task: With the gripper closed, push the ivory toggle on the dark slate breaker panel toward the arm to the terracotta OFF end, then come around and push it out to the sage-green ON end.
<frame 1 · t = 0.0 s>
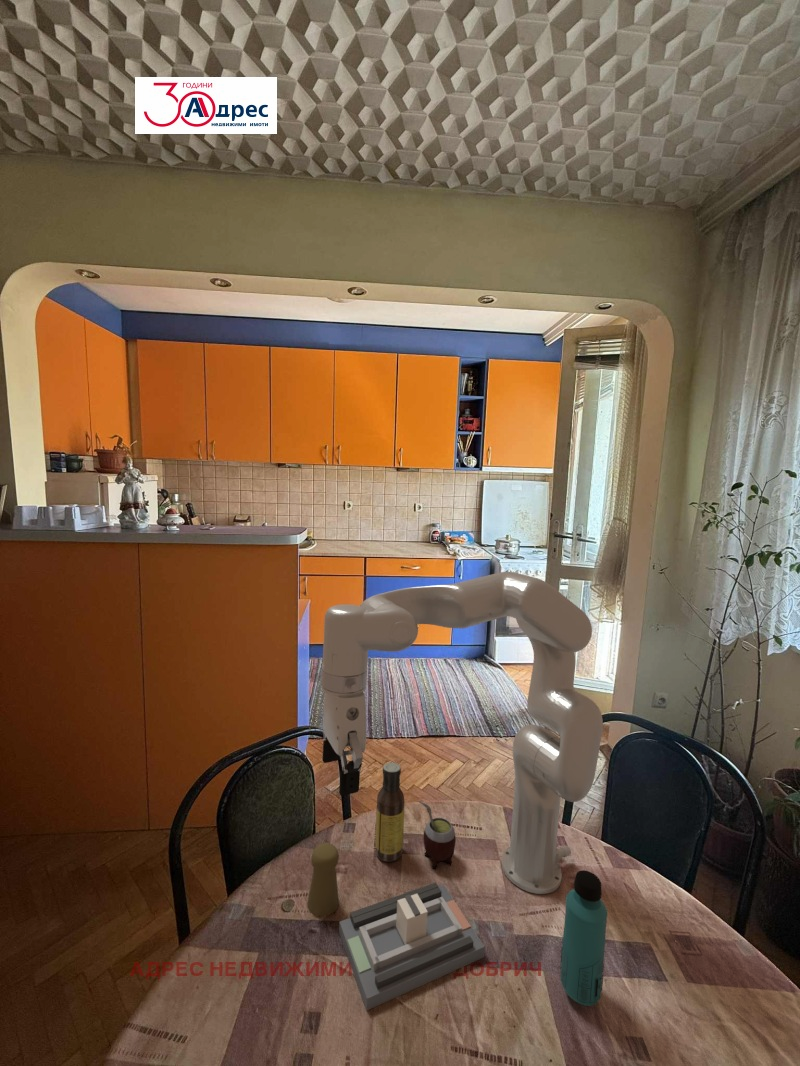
hand: (339, 776, 79), 31 cm above the table, fingers open, 9 cm apart
panel: (410, 944, 82), on the table
mate gourd: (436, 861, 101), on the table
toggle: (411, 918, 81), point 5 cm above the table, slide at 0.0 cm
beverage bottle: (578, 995, 75), on the table
olive brown pawn: (323, 903, 89), on the table
sauce bottle: (388, 853, 103), on the table
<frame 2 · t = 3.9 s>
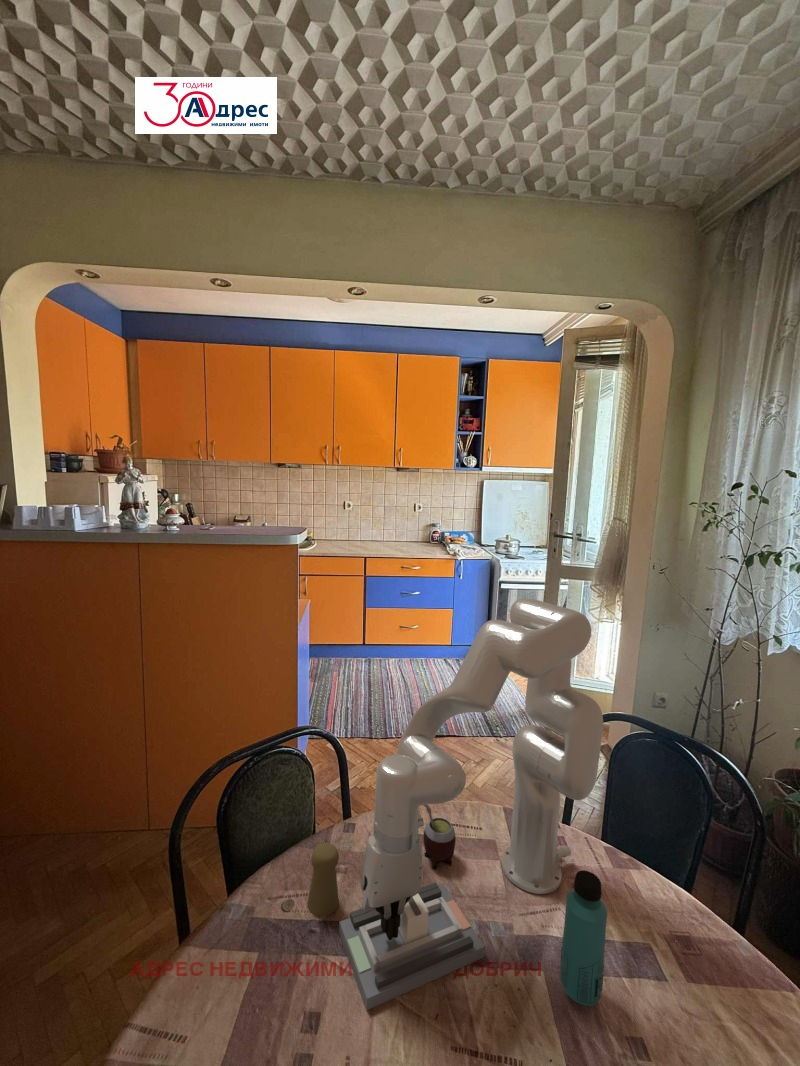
hand: (389, 931, 80), 4 cm above the table, fingers closed
toggle: (412, 917, 82), point 5 cm above the table, slide at -0.2 cm, touching gripper
everything else where it was.
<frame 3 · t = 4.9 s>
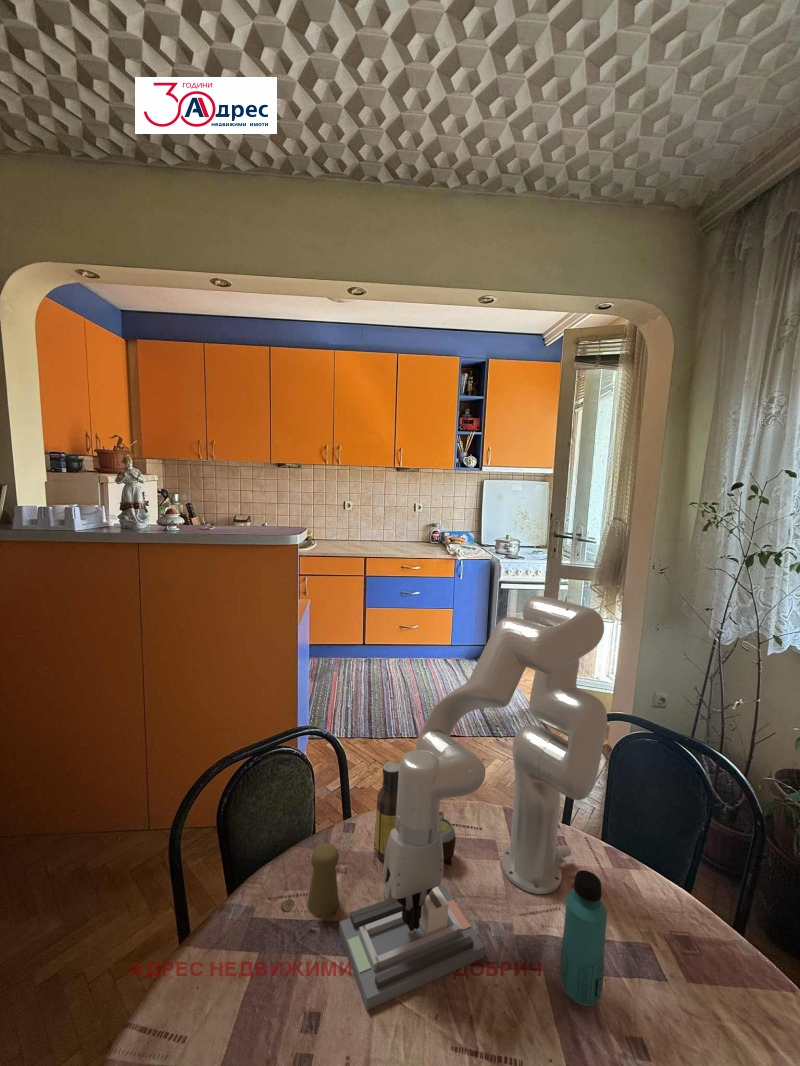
hand: (411, 923, 82), 4 cm above the table, fingers closed
toggle: (432, 910, 83), point 5 cm above the table, slide at -4.3 cm, touching gripper
everything else where it was.
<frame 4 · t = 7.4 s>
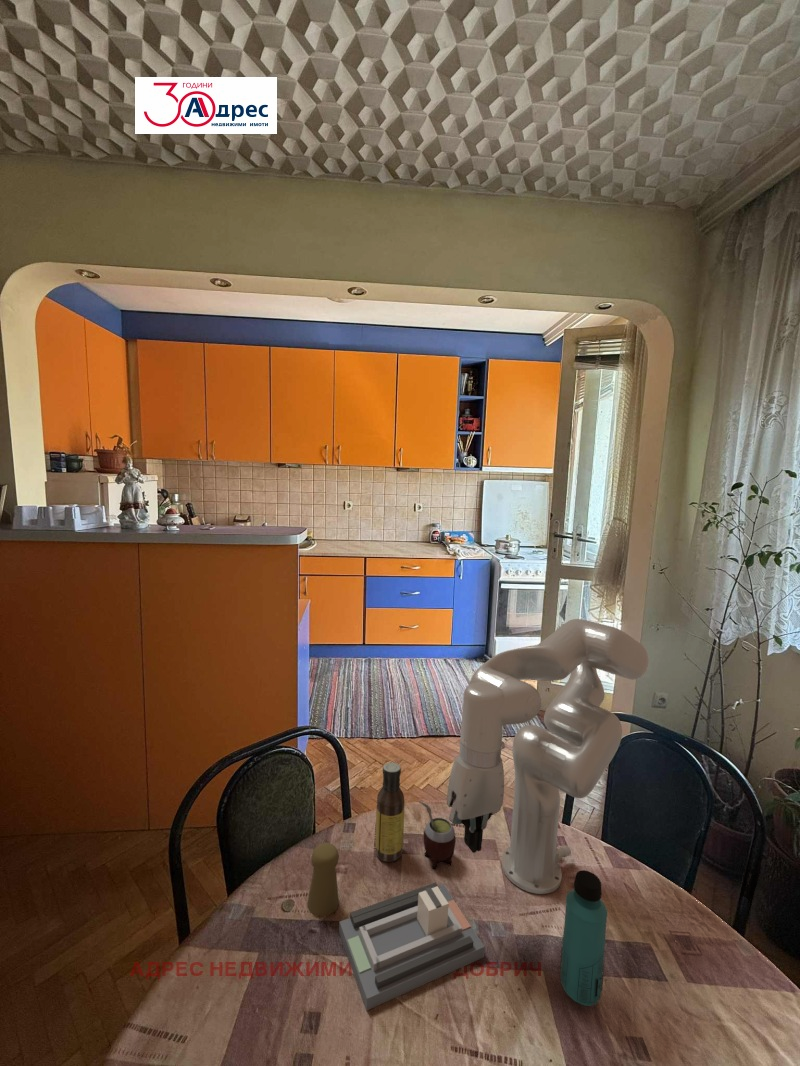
hand: (472, 846, 86), 15 cm above the table, fingers closed
toggle: (432, 910, 83), point 5 cm above the table, slide at -4.3 cm
everything else where it was.
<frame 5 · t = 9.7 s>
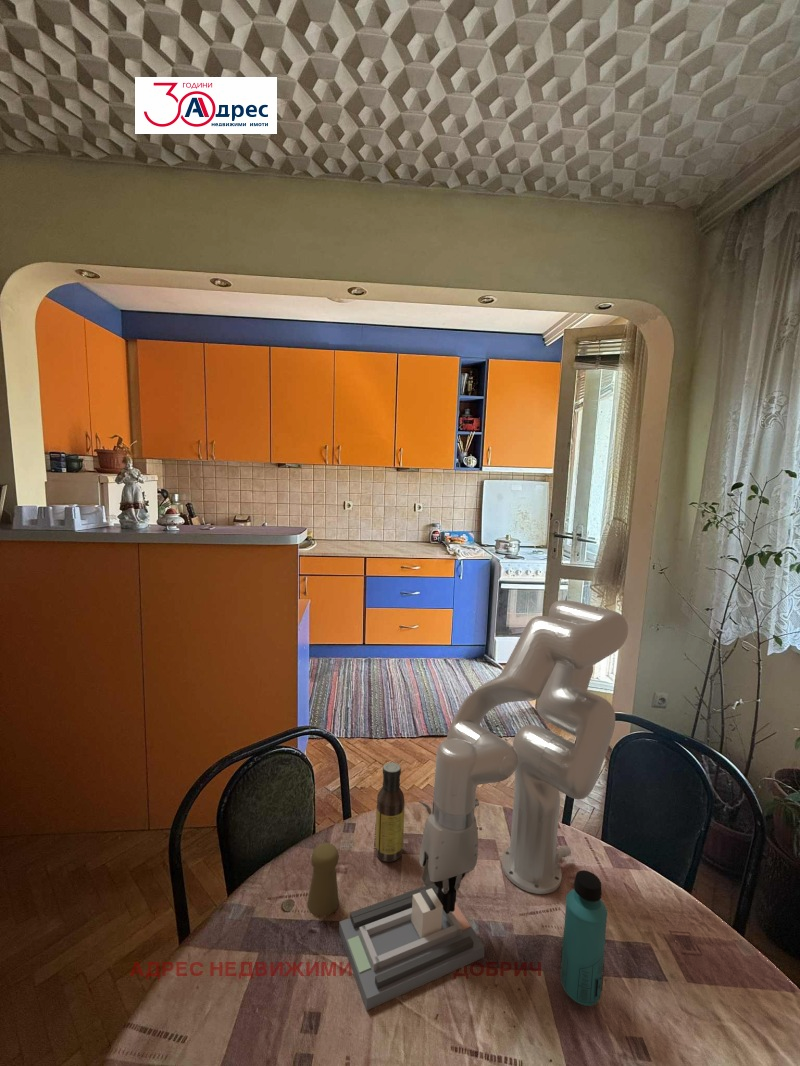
hand: (446, 906, 84), 5 cm above the table, fingers closed
toggle: (426, 912, 83), point 5 cm above the table, slide at -3.1 cm, touching gripper
everything else where it was.
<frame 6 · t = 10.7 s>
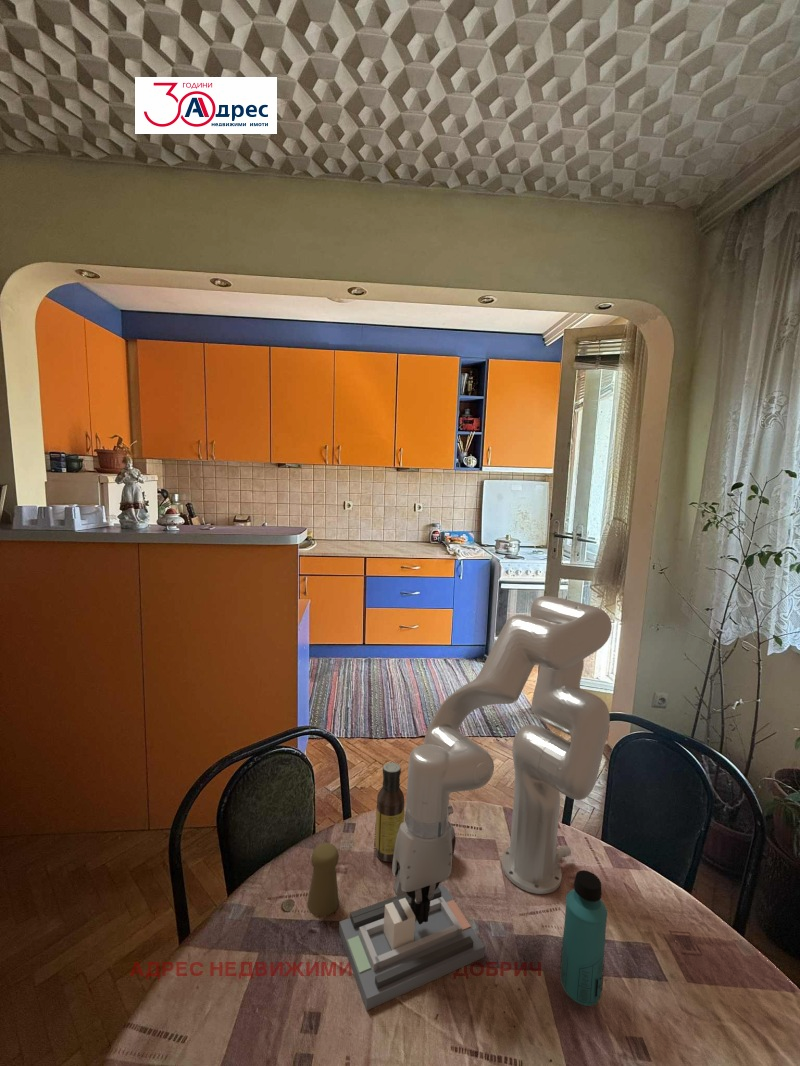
hand: (419, 916, 82), 5 cm above the table, fingers closed
toggle: (399, 923, 80), point 5 cm above the table, slide at 2.4 cm, touching gripper
everything else where it was.
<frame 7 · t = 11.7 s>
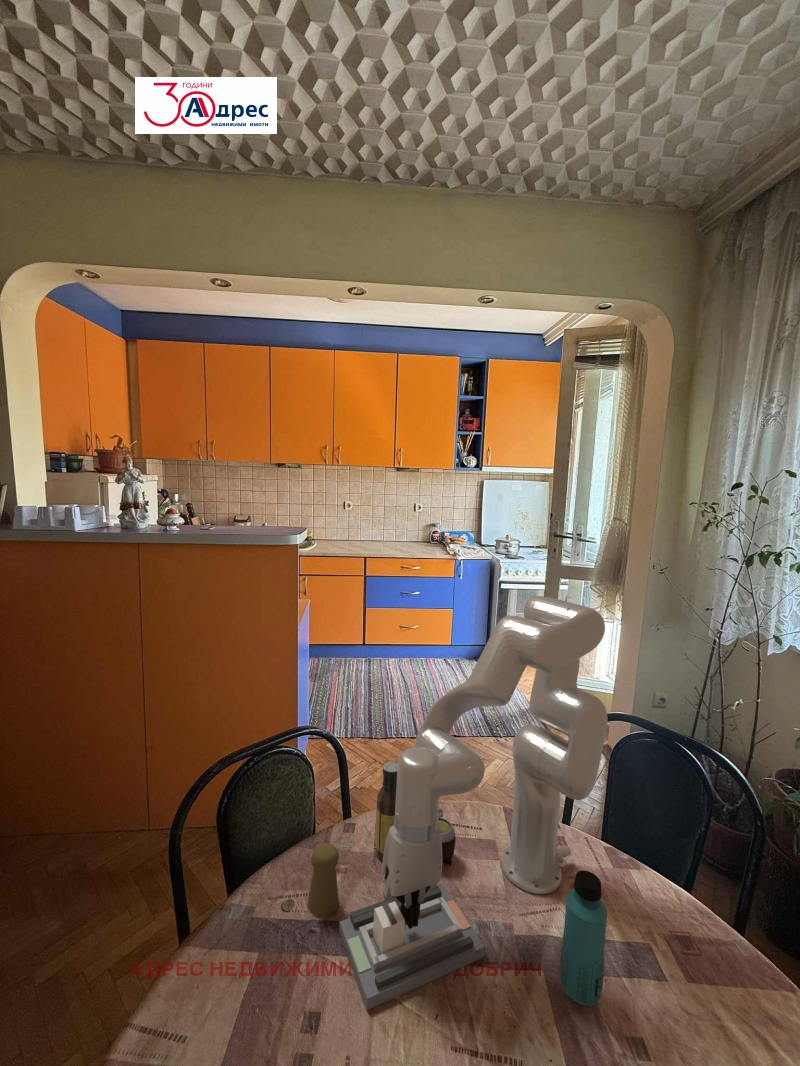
hand: (409, 920, 81), 5 cm above the table, fingers closed
toggle: (388, 927, 80), point 5 cm above the table, slide at 4.5 cm, touching gripper
everything else where it was.
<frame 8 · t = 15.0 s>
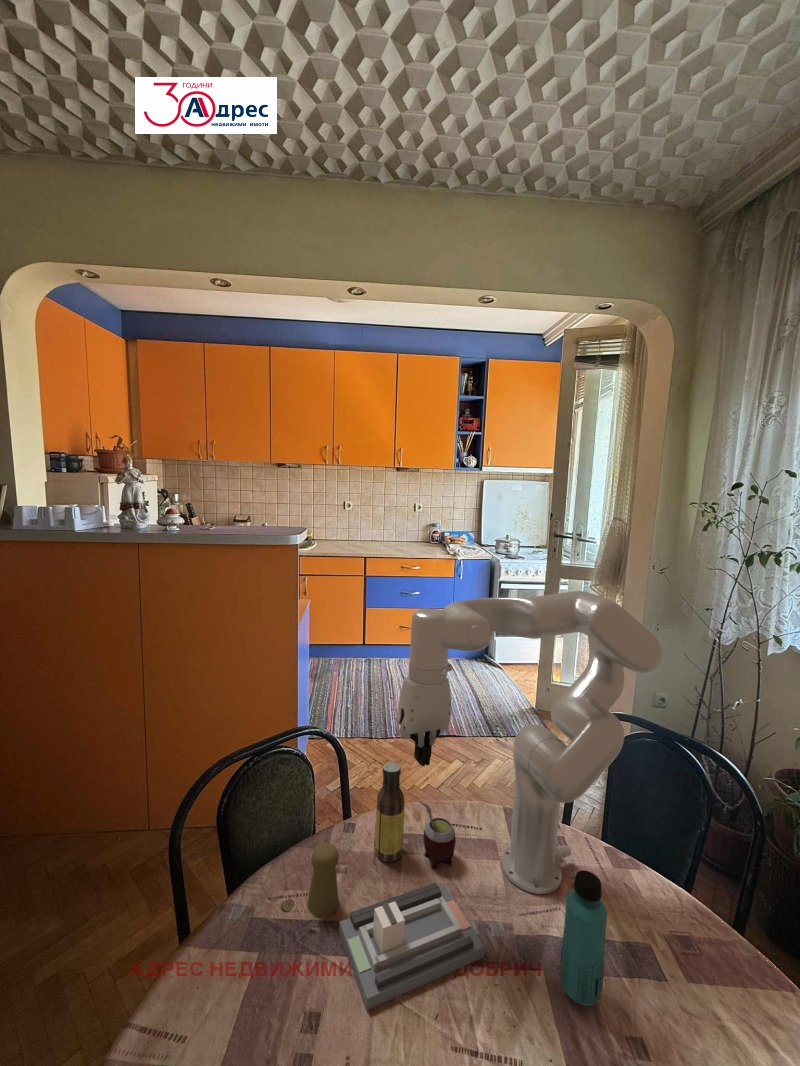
hand: (422, 761, 92), 27 cm above the table, fingers closed
toggle: (388, 927, 80), point 5 cm above the table, slide at 4.5 cm
everything else where it was.
at the end: toggle slide at 4.5 cm; toggle touching nothing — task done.
